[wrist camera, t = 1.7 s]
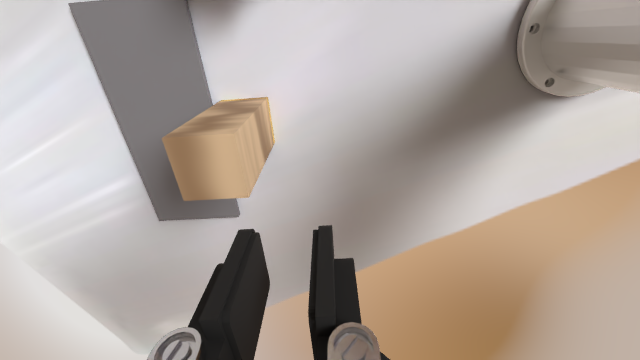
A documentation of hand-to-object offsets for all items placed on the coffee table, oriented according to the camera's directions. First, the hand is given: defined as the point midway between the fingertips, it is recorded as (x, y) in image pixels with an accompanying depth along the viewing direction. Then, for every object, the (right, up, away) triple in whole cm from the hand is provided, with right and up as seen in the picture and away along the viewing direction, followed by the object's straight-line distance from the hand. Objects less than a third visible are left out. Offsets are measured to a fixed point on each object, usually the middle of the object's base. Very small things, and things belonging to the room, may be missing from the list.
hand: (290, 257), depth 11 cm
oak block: (-7, +9, +19) cm, 22 cm away
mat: (-15, +9, +19) cm, 26 cm away
